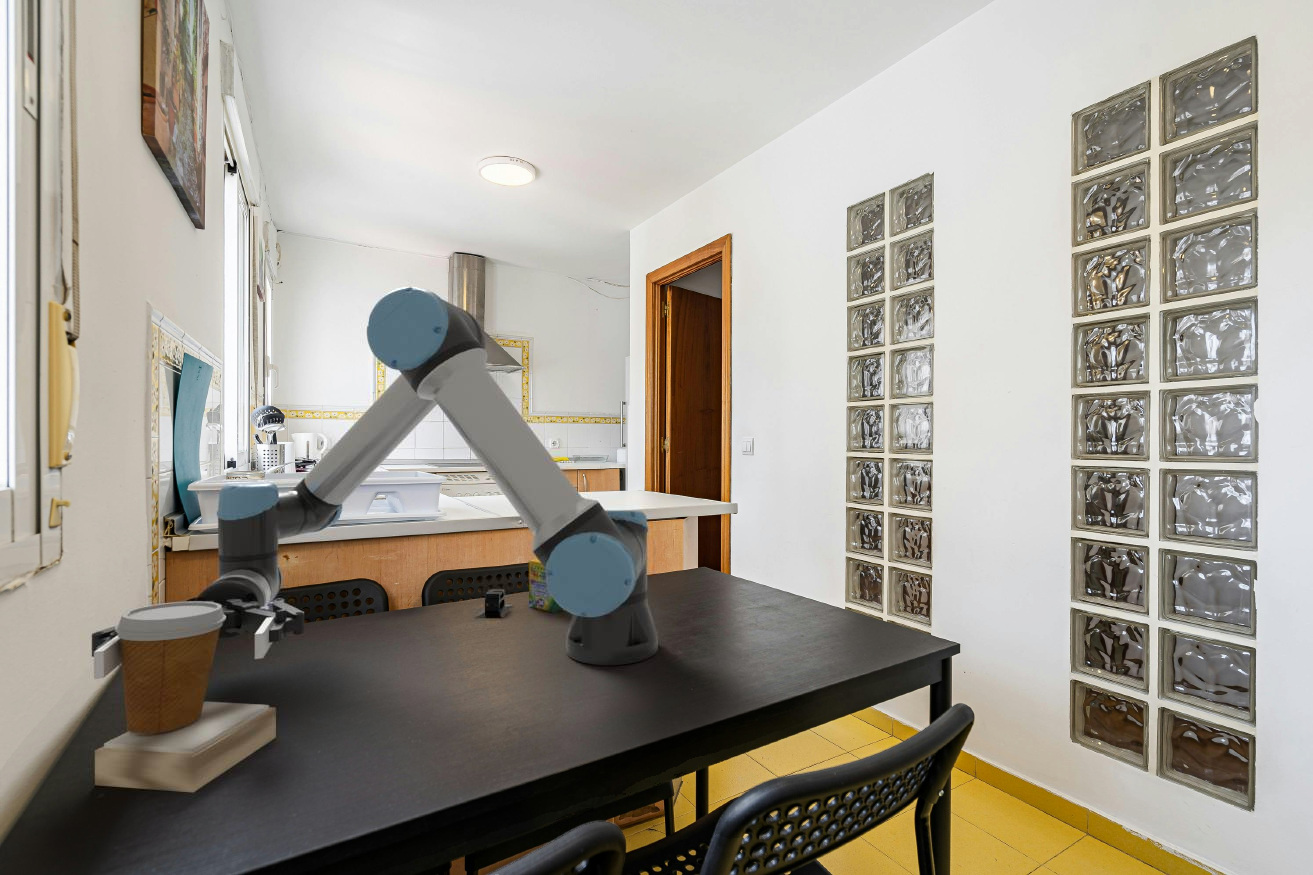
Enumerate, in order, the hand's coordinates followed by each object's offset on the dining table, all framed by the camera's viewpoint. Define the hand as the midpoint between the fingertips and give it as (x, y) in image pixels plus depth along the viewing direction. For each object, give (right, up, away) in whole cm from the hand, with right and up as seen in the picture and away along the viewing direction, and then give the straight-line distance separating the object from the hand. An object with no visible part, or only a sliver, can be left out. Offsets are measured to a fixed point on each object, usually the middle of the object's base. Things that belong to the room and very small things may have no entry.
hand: (182, 655), depth 63 cm
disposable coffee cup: (-4, -9, +3) cm, 10 cm away
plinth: (-1, -13, +3) cm, 13 cm away
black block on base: (+17, -13, +59) cm, 63 cm away
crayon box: (+27, -13, +61) cm, 68 cm away
